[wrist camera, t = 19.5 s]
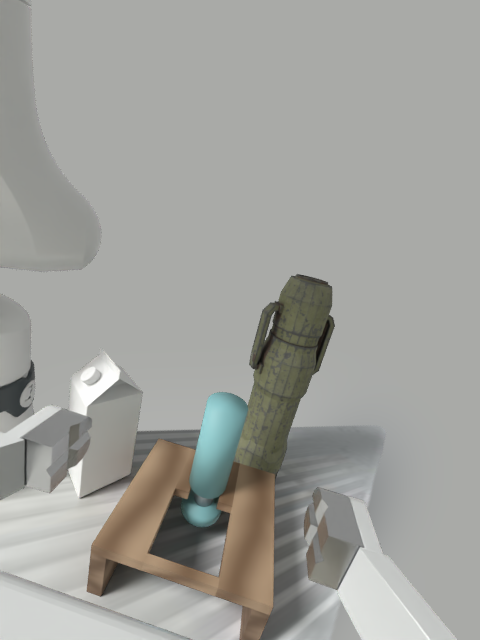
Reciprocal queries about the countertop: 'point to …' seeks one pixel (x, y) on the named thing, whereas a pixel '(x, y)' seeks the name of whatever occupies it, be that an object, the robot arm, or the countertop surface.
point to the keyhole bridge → (240, 544)
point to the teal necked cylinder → (214, 457)
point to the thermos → (284, 368)
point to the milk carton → (105, 422)
